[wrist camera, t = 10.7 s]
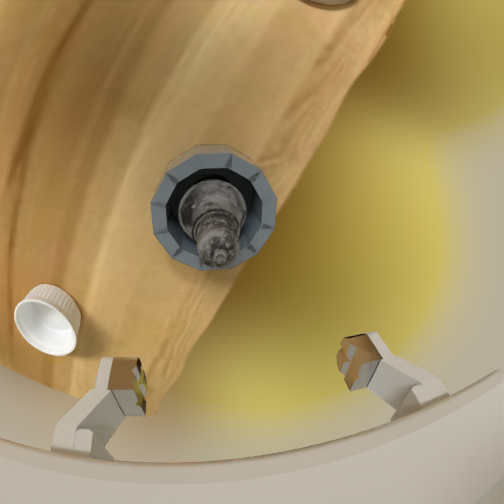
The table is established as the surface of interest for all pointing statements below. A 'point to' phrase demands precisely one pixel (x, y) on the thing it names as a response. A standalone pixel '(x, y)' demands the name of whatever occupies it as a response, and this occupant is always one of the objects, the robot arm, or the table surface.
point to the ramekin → (49, 320)
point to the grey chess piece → (213, 218)
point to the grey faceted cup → (242, 177)
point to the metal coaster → (330, 2)
